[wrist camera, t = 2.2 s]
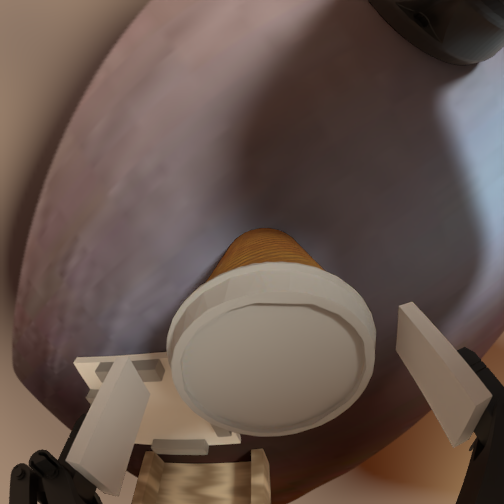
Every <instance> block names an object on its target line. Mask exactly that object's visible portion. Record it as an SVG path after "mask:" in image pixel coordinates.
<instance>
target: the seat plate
mask: <svg viewBox="0 0 504 504" xmlns="http://www.w3.org/2000/svg"><path fill="white" fill-rule="evenodd" d="M128 356H129V358H130V360H131V361H132V363H133V365H134V367H135V369H136V370H137V372H138V374H139V376H140V377H141V379H142V381H143V383H144V384H145V386H146V388H147V389H148V391H149V393H150V397H149V400H148V403H147V406H146V409H145V412H144V415H143V418H142V421H141V424H140V427H139V430H138V433H137V436H136V440H135V443H134V444H148V445H151V449H152V450H153V451H154V452H155V453H156V454H171V455H208V448H209V445H224V444H238V443H241V436H240V434H239V433H234V432H231V431H228V430H226V429H223V428H220V427H218V426H215V425H213V424H211V423H209V422H208V421H206V420H205V419H203V418H202V417H200V416H199V415H197V414H196V413H194V412H193V411H192V410H191V409H190V407H189V406H188V405H187V404H186V403H185V402H184V401H183V400H182V399H181V397H180V395H179V393H178V391H177V389H176V388H175V385H174V382H173V378H172V370H171V368H170V365H169V362H168V356H167V352H158V353H147V354H134V355H120V356H102V357H77V358H76V360H75V361H74V362H73V363H74V365H75V367H76V368H77V370H78V371H79V373H80V374H81V376H82V377H83V379H84V380H85V382H86V383H87V385H88V386H89V388H90V391H89V393H88V395H87V396H86V399H87V401H88V402H89V403H90V405H92V403H93V401H94V399H95V397H96V395H97V393H98V391H99V389H100V387H101V385H102V384H103V382H104V380H105V378H106V376H107V374H108V372H109V370H110V368H111V367H112V365H113V363H114V361H115V359H116V357H128Z"/></svg>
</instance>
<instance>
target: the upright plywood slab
mask: <svg viewBox="0 0 504 504" xmlns="http://www.w3.org/2000/svg"><path fill="white" fill-rule="evenodd" d="M131 504H271V491H270V468H269V462H268V460H267V457H266V455H265V453H264V450H263V448H262V449H253V450H251V461H249V462H235V463H211V464H186V463H164V461H163V460H162V459H161V458H160V457H159V456H158V455H157V454H156V453H155V452H154V451H146V452H145V455H144V459H143V462H142V466H141V469H140V473H139V477H138V480H137V484H136V488H135V492H134V495H133V500H132V503H131Z"/></svg>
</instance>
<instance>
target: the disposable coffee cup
mask: <svg viewBox="0 0 504 504" xmlns="http://www.w3.org/2000/svg"><path fill="white" fill-rule="evenodd" d="M375 347H376V328H375V325H374V321H373V317H372V313H371V311H370V310H369V308H368V306H367V305H366V303H365V301H364V300H363V298H362V297H361V296H360V295H359V293H358V292H357V291H356V290H355V289H353V288H352V287H351V286H350V285H348V284H347V283H346V282H344V281H343V280H342V279H340V278H339V277H338V276H336V275H333V274H331V273H329V272H326V271H325V270H324V269H323V268H322V267H321V266H320V265H319V264H318V263H317V262H316V261H315V260H314V259H313V258H312V257H311V256H310V255H309V254H308V253H307V252H306V251H305V250H304V249H303V248H302V247H301V246H300V245H299V244H298V243H297V242H296V241H295V240H294V239H293V238H292V237H291V236H289V235H288V234H286V233H284V232H282V231H279V230H276V229H271V228H259V229H255V230H250V231H248V232H246V233H244V234H242V235H241V236H239V237H238V238H236V239H235V241H234V242H233V243H232V244H231V245H230V246H229V248H228V249H227V251H226V253H225V254H224V256H223V257H222V259H221V260H220V262H219V263H218V265H217V266H216V268H215V269H214V271H213V272H212V274H211V276H210V277H209V278H208V280H207V281H206V283H204V284H202V285H201V286H200V287H198V288H197V289H196V290H195V291H194V292H193V293H192V294H191V295H190V296H189V297H188V298H187V299H186V300H185V301H184V302H183V304H182V305H181V306H180V308H179V310H178V311H177V313H176V314H175V316H174V318H173V319H172V322H171V326H170V329H169V332H168V336H167V349H166V350H167V356H168V362H169V365H170V368H171V370H172V378H173V382H174V385H175V388H176V389H177V391H178V393H179V395H180V397H181V399H182V400H183V401H184V402H185V403H186V404H187V405H188V406H189V407H190V409H191V410H192V411H193V412H194V413H196V414H197V415H199V416H200V417H202V418H203V419H205V420H206V421H208V422H209V423H211V424H213V425H215V426H218V427H220V428H223V429H226V430H228V431H231V432H234V433H239V434H245V435H252V436H259V437H262V436H284V435H290V434H296V433H299V432H302V431H306V430H309V429H312V428H315V427H318V426H321V425H323V424H325V423H326V422H328V421H330V420H332V419H334V418H336V417H337V416H339V415H340V414H341V413H343V412H344V411H345V410H347V409H348V408H349V407H350V406H351V405H352V404H353V403H354V402H355V401H356V400H357V399H358V398H359V397H360V395H361V394H362V393H363V391H364V390H365V388H366V386H367V384H368V382H369V380H370V378H371V376H372V374H373V368H374V362H375Z"/></svg>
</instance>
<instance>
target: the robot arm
mask: <svg viewBox="0 0 504 504" xmlns="http://www.w3.org/2000/svg"><path fill="white" fill-rule="evenodd" d="M369 1H370V3H371V4H372V5H373V6H374V8H375V9H376V10H377V11H378V13H379V14H380V15H381V16H382V17H383V18H384V19H385V20H386V21H387V22H388V23H389V24H390V25H391V26H392V27H393V28H394V29H395V30H396V31H397V32H398V33H399V34H401V35H402V36H403V37H404V38H405V39H407V40H408V41H409V42H411V43H412V44H413V45H415V46H416V47H418V48H419V49H421V50H422V51H424V52H426V53H427V54H429V55H431V56H433V57H435V58H437V59H439V60H442V61H444V62H447V63H451V64H456V65H469V64H473V63H477V62H482V61H485V60H487V59H489V58H491V57H493V56H494V55H495V54H496V53H497V52H498V51H499V50H500V49H501V48H503V47H504V0H369ZM396 351H397V353H398V355H399V356H400V358H401V359H402V361H403V362H404V364H405V366H406V367H407V369H408V370H409V372H410V374H411V375H412V377H413V378H414V380H415V382H416V383H417V385H418V387H419V388H420V390H421V392H422V393H423V395H424V397H425V398H426V400H427V402H428V403H429V405H430V407H431V409H432V410H433V412H434V414H435V415H436V417H437V419H438V421H439V423H440V424H441V426H442V428H443V430H444V431H445V433H446V435H447V437H448V439H449V441H450V443H451V444H452V446H453V448H454V447H456V446H458V445H460V444H462V443H463V442H465V441H467V440H469V438H470V437H471V435H472V433H473V432H474V433H475V434H476V436H477V438H476V439H475V441H474V442H473V444H472V445H471V447H470V449H469V451H471V450H472V449H473V452H472V455H471V459H470V463H469V466H468V469H467V473H466V476H465V479H464V482H463V485H462V488H461V491H460V494H459V496H458V499H457V502H456V504H504V387H503V385H502V384H501V383H500V382H499V380H498V379H497V378H496V377H495V376H494V374H493V373H492V372H491V371H490V370H489V368H487V367H486V365H485V364H484V363H483V362H481V359H480V358H479V357H478V356H477V355H476V353H475V352H473V351H471V350H469V349H467V348H466V347H464V348H462V349H459V350H457V351H456V350H455V348H454V347H453V346H452V345H451V344H450V343H449V341H448V340H447V339H446V338H445V337H444V336H443V335H442V333H441V332H440V331H439V330H438V329H437V328H436V327H435V326H434V324H433V323H432V322H431V321H430V320H429V319H428V318H427V317H426V316H425V315H424V313H423V312H422V311H421V310H420V309H419V308H418V307H417V306H416V305H415V304H414V303H413V302H409V303H406V304H403V305H399V309H398V327H397V341H396ZM149 397H150V393H149V391H148V389H147V388H146V386H145V384H144V383H143V381H142V379H141V377H140V376H139V374H138V372H137V370H136V369H135V367H134V365H133V363H132V361H131V360H130V358H129V356H128V357H116V359H115V361H114V363H113V365H112V367H111V368H110V370H109V372H108V374H107V376H106V378H105V380H104V382H103V384H102V385H101V387H100V389H99V391H98V393H97V395H96V397H95V399H94V401H93V403H92V405H91V407H90V409H89V411H88V413H87V414H83V415H82V416H81V417H80V418H79V419H78V420H77V421H76V423H75V425H74V427H73V431H71V433H70V438H68V440H67V442H66V444H65V446H64V448H63V451H62V452H61V455H60V457H59V459H58V460H57V459H56V458H55V457H53V456H52V455H51V454H50V453H49V452H48V451H47V450H39V451H37V452H35V453H34V454H33V455H32V456H31V458H30V460H29V466H27V465H26V464H24V463H20V464H18V465H16V466H15V467H14V468H13V470H12V473H11V480H10V497H9V504H37V501H38V502H39V503H40V504H102V502H101V500H100V497H99V496H98V494H97V493H96V492H95V491H96V488H98V489H99V490H101V491H102V492H103V493H105V494H109V495H114V496H119V493H120V490H121V486H122V483H123V479H124V476H125V472H126V469H127V466H128V462H129V459H130V456H131V452H132V449H133V446H134V443H135V440H136V436H137V433H138V430H139V427H140V424H141V421H142V418H143V415H144V412H145V409H146V406H147V403H148V400H149ZM473 447H474V448H473ZM32 469H33V470H32Z"/></svg>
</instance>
